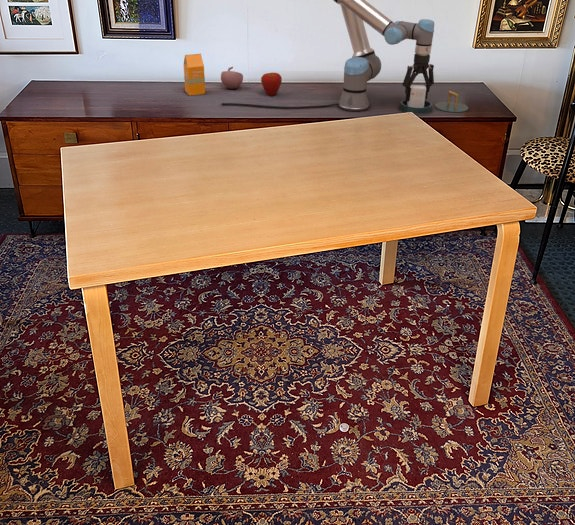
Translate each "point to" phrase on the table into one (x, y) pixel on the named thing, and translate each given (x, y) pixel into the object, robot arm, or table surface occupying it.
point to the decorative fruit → (231, 79)
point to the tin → (415, 110)
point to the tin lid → (451, 105)
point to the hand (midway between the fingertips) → (416, 99)
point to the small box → (417, 96)
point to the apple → (271, 83)
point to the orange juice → (194, 74)
